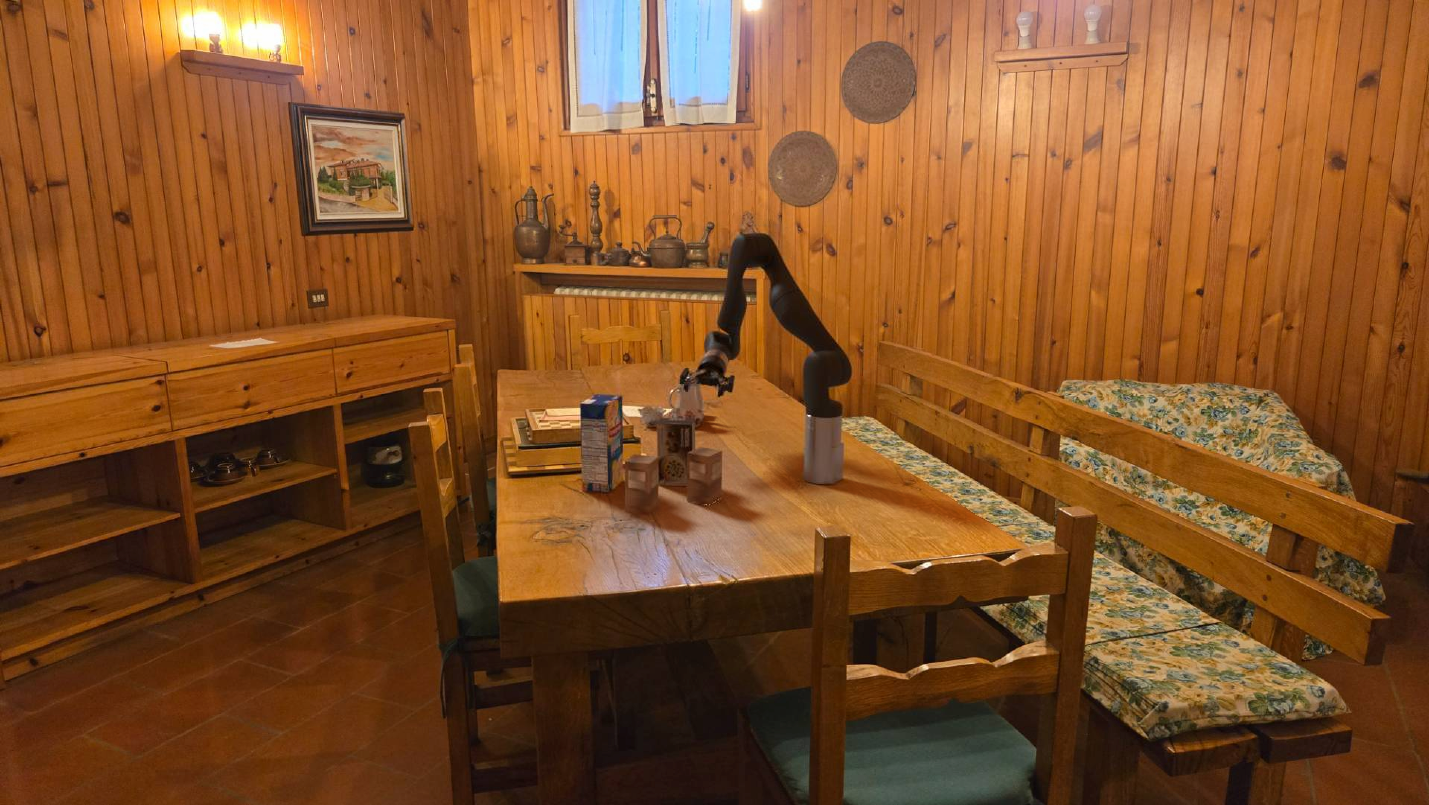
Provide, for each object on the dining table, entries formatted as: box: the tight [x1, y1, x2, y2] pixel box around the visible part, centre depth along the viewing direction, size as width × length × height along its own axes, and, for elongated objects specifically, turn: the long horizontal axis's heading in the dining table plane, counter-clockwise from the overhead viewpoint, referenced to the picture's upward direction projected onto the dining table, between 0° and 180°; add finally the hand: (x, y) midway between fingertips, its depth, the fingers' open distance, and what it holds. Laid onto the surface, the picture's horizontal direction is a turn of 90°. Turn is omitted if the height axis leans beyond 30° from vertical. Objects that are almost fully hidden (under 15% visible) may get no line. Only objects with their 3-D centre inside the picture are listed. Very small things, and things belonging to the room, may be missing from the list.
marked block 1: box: [624, 454, 659, 515], centre depth 215 cm, size 6×6×12 cm
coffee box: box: [656, 417, 696, 487], centre depth 234 cm, size 9×6×16 cm
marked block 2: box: [686, 446, 723, 505], centre depth 222 cm, size 6×6×12 cm
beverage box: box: [579, 393, 624, 494], centre depth 231 cm, size 7×11×22 cm, turn 166°
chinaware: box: [637, 380, 709, 428], centre depth 294 cm, size 28×17×17 cm, turn 141°
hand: (702, 391), depth 242 cm, fingers open, 8 cm apart
